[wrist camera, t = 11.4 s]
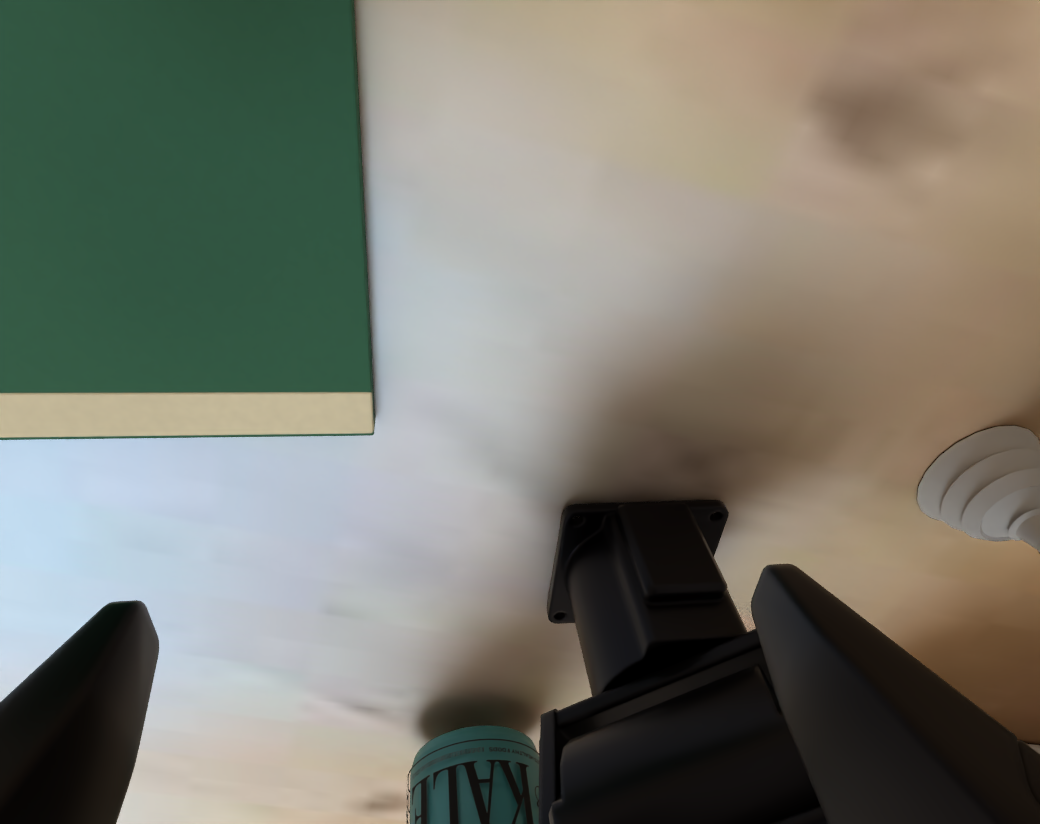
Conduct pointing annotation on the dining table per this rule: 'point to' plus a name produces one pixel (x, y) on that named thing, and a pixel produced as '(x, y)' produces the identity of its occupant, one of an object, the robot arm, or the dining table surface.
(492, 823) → the beverage bottle
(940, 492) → the chalice
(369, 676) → the dining table surface
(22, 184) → the green flat rectangular block
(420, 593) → the dining table surface
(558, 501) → the dining table surface
